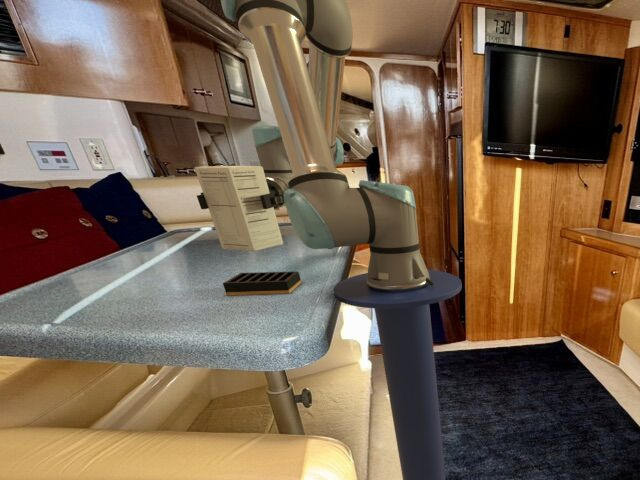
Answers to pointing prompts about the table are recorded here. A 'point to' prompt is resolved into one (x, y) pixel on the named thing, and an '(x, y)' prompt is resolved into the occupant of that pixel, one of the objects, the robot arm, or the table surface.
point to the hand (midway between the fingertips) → (232, 202)
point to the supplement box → (239, 207)
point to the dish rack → (262, 283)
